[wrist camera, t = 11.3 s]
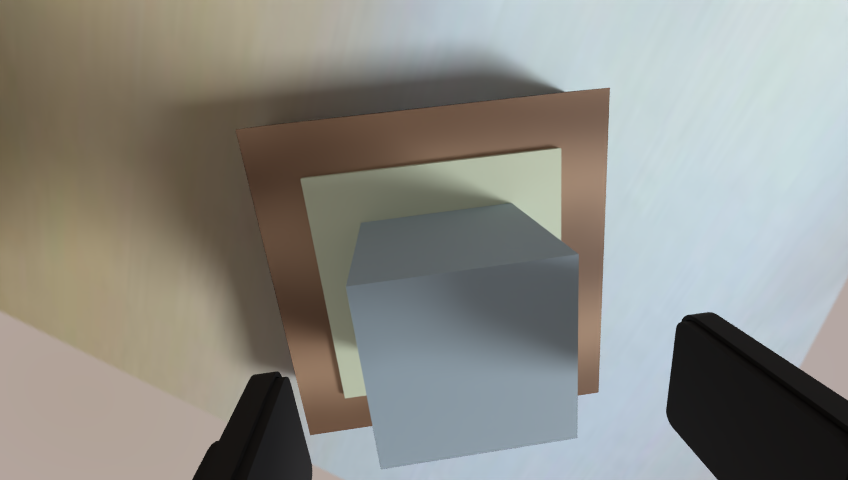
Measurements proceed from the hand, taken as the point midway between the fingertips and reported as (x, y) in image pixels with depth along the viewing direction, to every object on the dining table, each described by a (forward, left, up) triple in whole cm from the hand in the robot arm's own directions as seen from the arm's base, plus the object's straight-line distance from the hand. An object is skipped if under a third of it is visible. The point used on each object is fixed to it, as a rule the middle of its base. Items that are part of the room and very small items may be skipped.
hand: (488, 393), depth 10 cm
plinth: (0, 0, -12) cm, 12 cm away
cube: (0, 0, -8) cm, 8 cm away
